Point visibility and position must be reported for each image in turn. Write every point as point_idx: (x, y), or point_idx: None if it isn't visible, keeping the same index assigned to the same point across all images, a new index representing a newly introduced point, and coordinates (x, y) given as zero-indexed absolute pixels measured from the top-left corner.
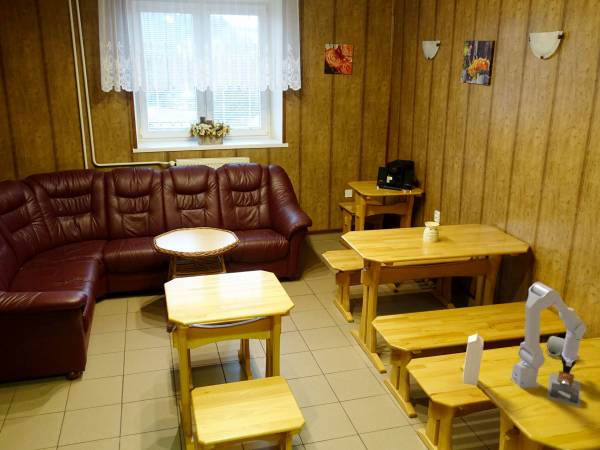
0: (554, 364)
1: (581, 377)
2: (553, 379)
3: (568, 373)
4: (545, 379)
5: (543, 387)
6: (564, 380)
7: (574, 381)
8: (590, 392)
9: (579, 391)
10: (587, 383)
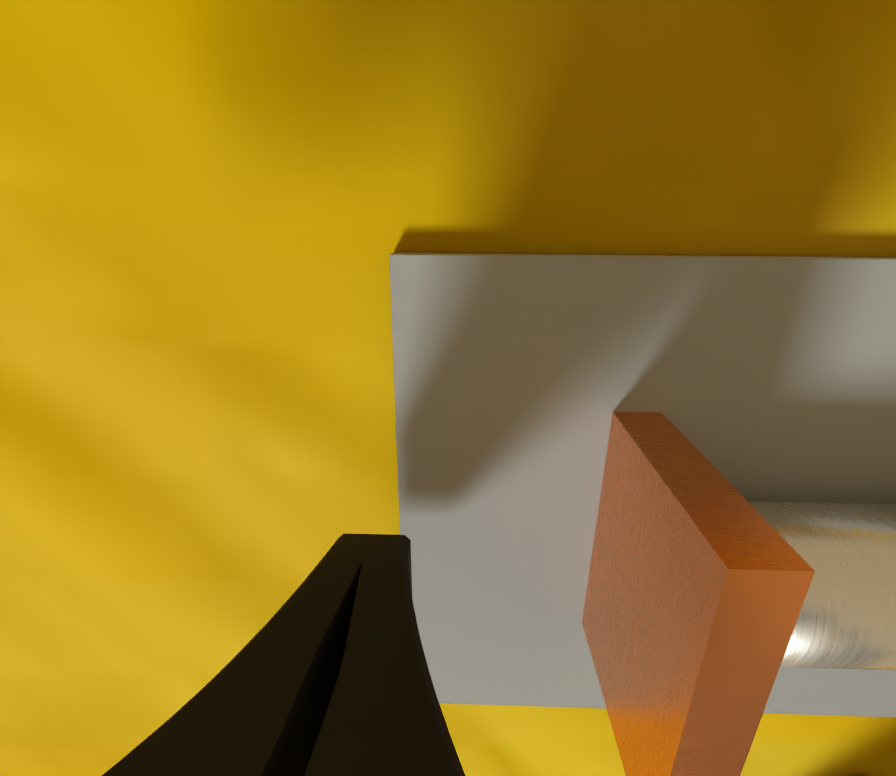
0: (39, 643)
1: (158, 229)
2: (588, 666)
3: (704, 699)
4: (607, 727)
5: (857, 742)
6: (887, 664)
7: (478, 375)
8: (800, 7)
9: (891, 277)
10: (360, 88)
